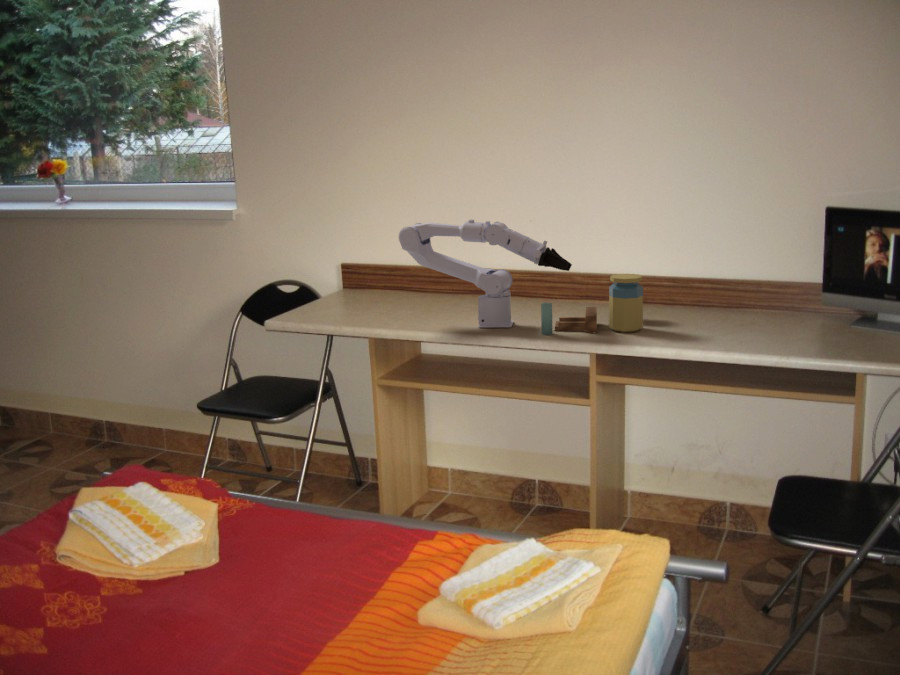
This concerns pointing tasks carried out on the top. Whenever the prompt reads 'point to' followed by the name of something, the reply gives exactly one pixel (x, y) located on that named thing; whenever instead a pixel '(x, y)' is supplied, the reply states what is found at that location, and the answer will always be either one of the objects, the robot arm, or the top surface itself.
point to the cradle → (579, 322)
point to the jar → (626, 303)
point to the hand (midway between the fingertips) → (568, 267)
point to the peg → (546, 318)
